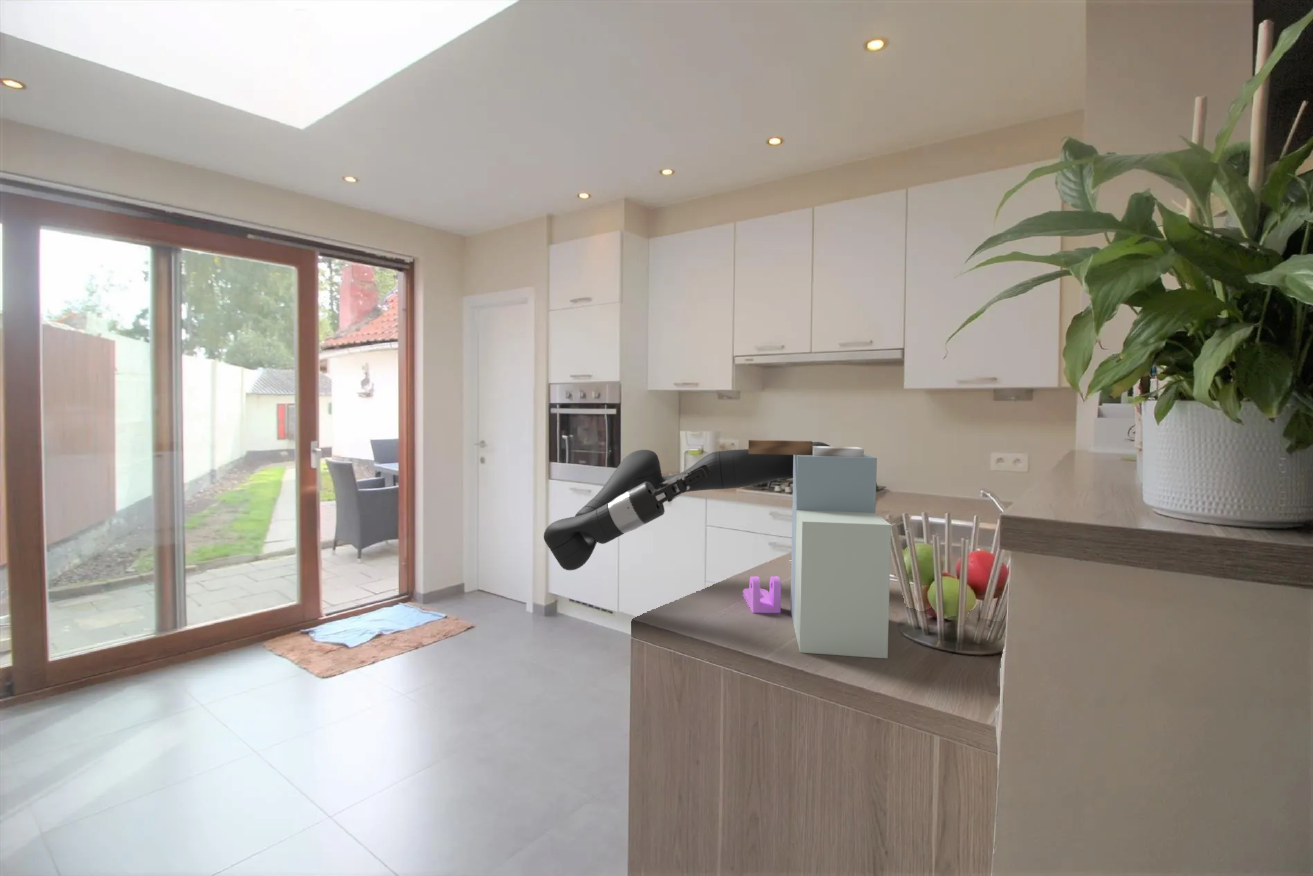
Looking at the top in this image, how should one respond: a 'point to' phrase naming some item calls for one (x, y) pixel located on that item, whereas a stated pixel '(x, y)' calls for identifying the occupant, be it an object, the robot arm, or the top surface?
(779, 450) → the turner
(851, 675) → the top surface
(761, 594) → the bracket
